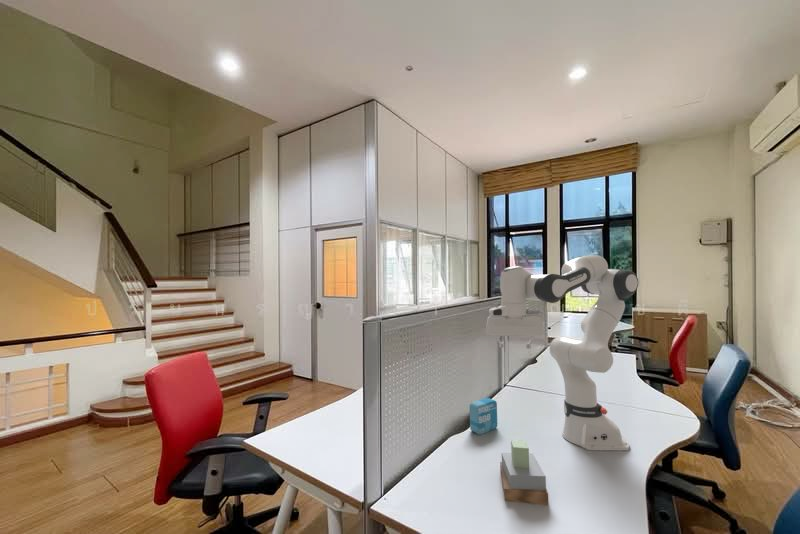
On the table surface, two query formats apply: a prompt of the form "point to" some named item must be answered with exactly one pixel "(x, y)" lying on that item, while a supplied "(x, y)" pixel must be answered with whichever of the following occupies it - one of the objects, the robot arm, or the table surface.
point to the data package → (483, 415)
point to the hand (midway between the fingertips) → (514, 347)
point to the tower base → (522, 493)
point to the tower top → (524, 474)
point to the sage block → (520, 453)
